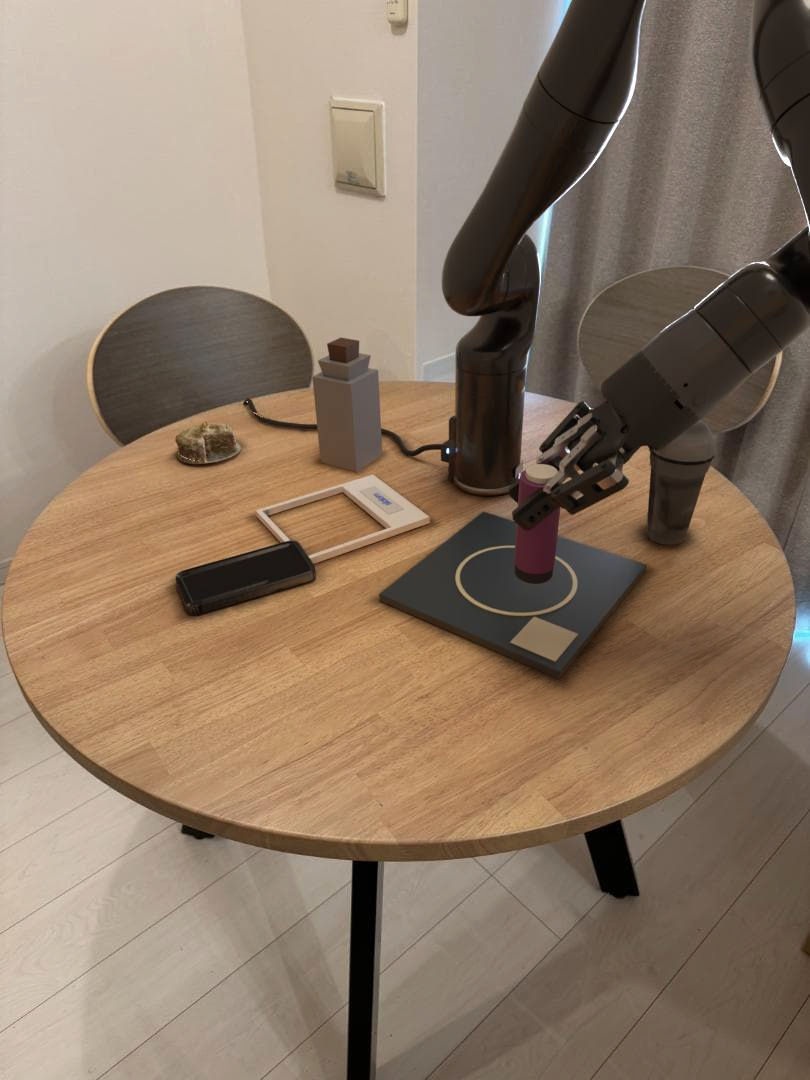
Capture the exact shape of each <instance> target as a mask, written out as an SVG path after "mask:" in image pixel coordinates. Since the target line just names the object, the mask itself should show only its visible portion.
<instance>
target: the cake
mask: <svg viewBox="0 0 810 1080" xmlns="http://www.w3.org/2000/svg"><path fill="white" fill-rule="evenodd" d="M182 430H183V431H181V432H180V433H179V434H176V435H175V437H174V439H175V443H176V445H177V453H176V459H177V460H178V461H180V462H182V463H185V464H186V463H187V464H192V465H204V464H213V463H218V462H222V461H224V460H227V459H230V458H232V457H234V456H236V455H237V454H239V453H240V452H241V450H242V446H241V444H239V442H238V441H237V435H236V434H235V431H234V428H233V427H232V426H231V425H229V424H228V423H218V422H216V423H213V422H209V423H208V421H204V422H202V423H201V424H197V425H194V426H190V427H188V428H185V429H182ZM178 450H179V451H178ZM178 452H179V453H180V454H179V455H178ZM180 455H182V456H184V457H186V458H188V459H186V458H183V457H181V456H180ZM189 459H191V460H189ZM193 460H195V461H193ZM198 460H199V461H198Z"/></svg>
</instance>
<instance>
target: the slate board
mask: <svg viewBox="0 0 810 1080" xmlns="http://www.w3.org/2000/svg"><path fill="white" fill-rule="evenodd" d="M516 527H517V523H516V522H515V521H514V520H513V519H508V518H505V517H502V516H499V515H496V514H493V513H490V512H487V511H482V512H481V513H480V514H478V515H477V516H476V517H474V518H473V519H472V520H470V521H469V522H468V523H467V524H465V525H464V526H463V527H462V528H460V529H459V530H458V531H457V532H455V533H454V534H453V535H452V536H450V537H449V538H448V539H447V540H445V541H444V542H443V543H442V544H440V545H439V546H438V547H436V548H435V549H434V550H433V551H431V552H430V553H428V555H426V556H425V557H424V558H422V559H421V560H419V562H417V563H416V564H415V565H413V566H412V567H411V568H410V569H408V571H406V572H405V573H404V574H402V575H401V576H400V577H398V578H397V579H396V580H395V581H394V582H393V583H390V585H388V586H387V587H386V588H384V589H383V590H382V591H381V592H379V593H378V598H379V602H381V603H384V604H386V605H387V606H390V607H393V608H395V609H397V610H400V611H401V612H405V614H409V615H411V616H413V617H416V618H418V619H419V620H423V621H425V622H427V623H429V624H432V625H434V626H436V627H438V628H440V629H443V630H446V631H448V632H450V633H453V634H455V635H457V636H459V637H461V638H463V639H466V640H468V641H471V642H472V643H475V644H478V645H480V646H482V647H484V648H486V649H489V650H491V651H494V652H496V653H497V654H500V655H503V656H505V657H507V658H509V659H512V660H515V661H516V662H519V663H521V664H524V665H525V666H528V667H530V668H532V669H534V670H537V671H539V672H540V673H543V674H546V675H548V676H550V677H553V678H555V679H558V680H560V679H561V678H562V676H563V675H564V674H565V673H566V671H568V669H569V668H570V666H571V665H572V664H573V663H574V661H575V660H576V659H577V658H578V656H579V655H580V654H581V653H582V652H583V650H584V649H585V648H586V647H587V645H588V644H589V643H590V642H591V640H592V639H593V638H594V637H595V635H596V634H597V633H598V632H599V630H600V629H601V628H602V627H603V626H604V624H605V623H606V622H607V620H609V618H610V617H611V616H612V615H613V613H614V612H615V611H616V609H618V607H619V606H620V604H621V603H622V602H623V601H624V599H625V598H627V595H628V594H630V592H631V591H632V590H633V588H634V587H635V586H636V585H637V584H638V582H639V581H640V580H641V579H642V577H643V576H644V575H645V574H646V572H647V568H648V564H646V563H643V562H640V561H637V560H634V559H630V558H627V557H625V556H622V555H619V554H616V553H613V552H610V551H607V550H603V549H600V548H597V547H594V546H591V545H588V544H585V543H582V542H579V541H575V540H572V539H569V538H567V537H563V536H560V535H558V536H557V546H556V556H555V565H554V567H553V575H552V578H551V579H550V580H549V581H547V582H545V583H541V584H530V583H526V582H523V581H521V580H520V579H518V578H517V577H516V575H515V563H514V559H515V543H516Z"/></svg>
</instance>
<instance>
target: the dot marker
mask: <svg viewBox="0 0 810 1080" xmlns="http://www.w3.org/2000/svg"><path fill="white" fill-rule="evenodd" d="M557 472H558V471H557V469H556V468H554V467H553V466H550V465H545V464H537V463H535V464H531V465H529V466H527V467H526V469H525V470H522V471H521V472H520V479H519V495H518V503H517V507H518V506H520V505H521V504H522V503H523V502H524V501H526V500H527V499H528V498H529V497H530V496H532V495H533V494H534V493H535V492H537V491H538V490H539V489H540V488H544V486H545V485H546V484H547V483H548V482H549V481H550V480H551V478H552V477H553V476H554V475H555V474H556V473H557ZM562 484H564V482H563V483H562ZM562 484H561V485H562ZM560 514H561V507H560V508H557V509H556V510H555V511H553V512H552V513H551V514H550V515H548V516H547V517H546V518H545V519H543V520H542V521H541V522H540V523H538V524H537V525H536V526H535V527H533V528H532V529H531V530H528V531H526V530H524V529H523V528H521V527H520V526H519V525H518V524H517V527H516V543H515V559H514V563H515V575H516V577H517V578H518V579H520V580H521V581H523V582H526V583H530V584H541V583H545V582H547V581H549V580H550V579H551V578H552V575H553V567H554V565H555V556H556V546H557V536H559V526H560V525H559V524H560V516H561V515H560Z"/></svg>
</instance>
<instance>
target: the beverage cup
mask: <svg viewBox="0 0 810 1080" xmlns="http://www.w3.org/2000/svg"><path fill="white" fill-rule="evenodd" d="M648 451H649V466H650V475H649V489H648V504H647V505H648V506H647V518H646V523H647V525H646V528H647V531H646V535H647V537H648V538H649V539H650V540H651V541H653V542H656V543H658V544H661V545H666V546H673V545H679V544H681V543H683V542H684V541H685V539H686V535H687V533H688V530H689V528H690V524H691V522H692V518H693V516H694V512H695V509H696V506H697V503H698V499H699V496H700V493H701V490H702V487H703V484H704V482H705V477H706V474H708V471H709V469H710V467H711V465H712V461H713V460H714V459H715V438H714V434H713V433H712V430H711V429H710V428H709V427H708V424H706V423H705V422H704V421H703V420H702V419H700V420H699V421H698V422H696V423H695V424H694V425H692V426H691V427H690V428H689V429H687V430H686V431H685V432H683V433H682V434H681V435H680V436H678V437H677V438H676V439H675V440H673V441H672V442H671V443H669V444H668V445H667V446H666V447H664V448H663V449H662V450H660V451H654V450H651V449H650V448H649V447H648Z"/></svg>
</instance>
